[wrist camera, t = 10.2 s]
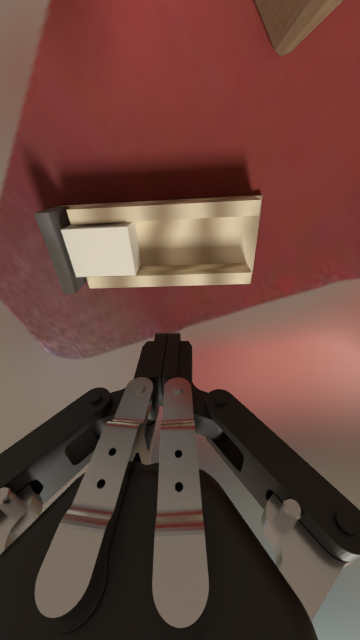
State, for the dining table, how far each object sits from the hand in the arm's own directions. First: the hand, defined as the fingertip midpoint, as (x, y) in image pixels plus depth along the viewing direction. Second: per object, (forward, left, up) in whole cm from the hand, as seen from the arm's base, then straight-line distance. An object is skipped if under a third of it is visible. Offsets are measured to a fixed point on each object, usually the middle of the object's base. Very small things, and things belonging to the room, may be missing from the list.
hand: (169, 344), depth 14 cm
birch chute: (+2, -1, -22) cm, 22 cm away
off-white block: (+10, -1, -21) cm, 23 cm away
